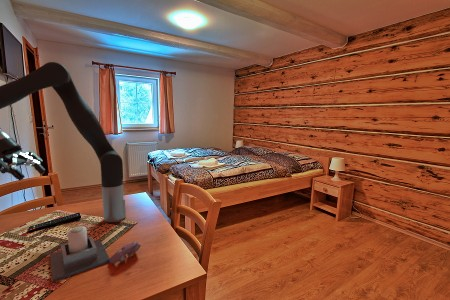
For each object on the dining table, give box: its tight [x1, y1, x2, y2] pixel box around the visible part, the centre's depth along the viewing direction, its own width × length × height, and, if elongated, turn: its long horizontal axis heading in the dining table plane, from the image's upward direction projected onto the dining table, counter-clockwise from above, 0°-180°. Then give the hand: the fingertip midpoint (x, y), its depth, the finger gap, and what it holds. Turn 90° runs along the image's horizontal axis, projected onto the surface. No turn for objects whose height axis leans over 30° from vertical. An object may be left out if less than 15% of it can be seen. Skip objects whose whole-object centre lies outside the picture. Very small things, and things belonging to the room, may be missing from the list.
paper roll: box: [67, 226, 88, 255], centre depth 79 cm, size 6×6×10 cm
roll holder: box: [49, 236, 110, 283], centre depth 79 cm, size 16×16×5 cm
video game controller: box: [109, 241, 141, 265], centre depth 80 cm, size 10×5×7 cm, turn 149°
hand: (33, 175), depth 83 cm, fingers open, 8 cm apart
